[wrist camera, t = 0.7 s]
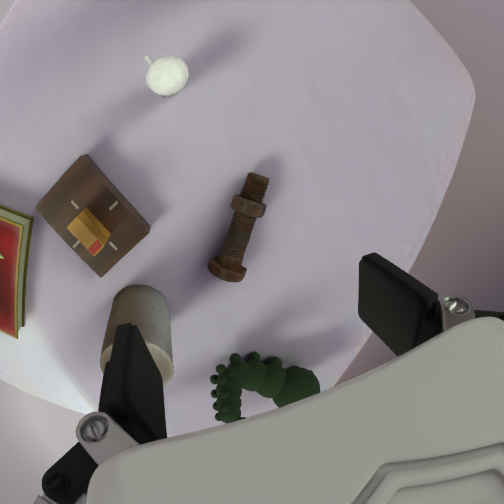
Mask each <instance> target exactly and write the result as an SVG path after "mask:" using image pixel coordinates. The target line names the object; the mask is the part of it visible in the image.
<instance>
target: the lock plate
mask: <svg viewBox="0 0 504 504" xmlns="http://www.w3.org/2000/svg"><path fill="white" fill-rule="evenodd" d="M86 207H87V208H88V209H89V211H90V212H91V213H92V214H93V215H94V216H95V217H96V218H97V219H98V220H99V222H100V223H101V224H102V225H103V226H104V227H105V228H106V229H107V230H108V231H109V232H110V233H111V235H110V236H109V238H108V240H107V242H106V244H105V246H104V247H103V248H102V249H101V250H100V251H99V252H98V253H97V254H96V255H95V256H93V255H92V254H91V253H90V252H89V251H88V250H87V248H86V247H85V246H84V245H83V244H82V243H81V242H80V241H79V240H78V239H77V238H76V237H75V236H74V235H73V234H72V233H71V232H70V231H69V229H68V228H67V227H68V226H69V224H70V223H71V222H72V221H73V220H74V219H75V218H76V217H77V216H78V215H79V214H80V213H81V212H82V211H83V210H84V209H85V208H86ZM36 210H37V211H38V212H39V213H40V214H41V215H42V217H43V218H44V219H45V220H46V221H47V222H48V223H49V224H50V226H51V227H52V228H53V229H54V230H55V231H56V232H57V233H58V234H59V235H60V237H61V238H62V239H63V240H64V241H65V242H66V243H67V244H68V245H69V246H70V247H71V248H72V249H73V250H74V251H75V252H76V253H77V254H78V255H79V256H80V258H81V259H82V260H83V261H84V262H85V263H86V264H87V265H88V266H89V267H91V268H92V269H93V270H94V271H95V272H96V273H97V274H98V275H99V276H100V277H103V276H104V275H105V274H106V273H107V272H108V271H109V270H110V269H111V268H112V267H113V266H114V265H115V264H116V263H117V262H118V261H119V260H120V259H121V258H122V257H123V256H124V255H125V254H127V253H128V252H129V251H130V250H131V249H132V248H133V247H134V246H135V245H136V244H137V243H138V242H140V241H141V240H142V239H143V238H144V237H145V236H146V235H147V234H148V233H149V231H150V225H149V224H148V223H147V222H146V220H145V219H144V218H143V217H142V216H141V215H140V214H139V213H138V212H137V211H136V209H135V208H134V207H133V206H132V205H131V204H130V203H129V202H128V201H127V199H126V198H125V197H124V196H123V195H122V194H121V193H120V192H119V190H118V189H117V188H116V187H115V186H114V185H113V184H112V182H111V181H110V180H109V179H108V178H107V177H106V176H105V174H104V173H103V172H102V171H101V170H100V169H99V167H98V166H97V165H96V164H95V163H94V162H93V160H92V159H91V158H90V157H89V156H88V154H86V155H82V156H80V157H79V158H78V159H77V160H76V161H75V163H74V164H73V165H72V166H71V167H70V168H69V169H68V170H67V171H66V172H65V173H64V175H63V176H62V177H61V178H60V179H59V180H58V181H57V183H56V184H55V185H54V186H53V187H52V188H51V190H50V191H49V192H48V193H47V194H46V196H45V197H44V198H43V199H42V201H41V202H40V203H39V204H38V206H37V207H36Z"/></svg>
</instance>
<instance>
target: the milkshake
mask: <svg viewBox="0 0 504 504" xmlns="http://www.w3.org/2000/svg"><path fill="white" fill-rule="evenodd" d="M144 59H145V61H146V62H147V63H148V64H149V65H150V67H149V69H148V71H147V75H146V79H147V84H148V86H149V87H150V89H151V90H152V91H154V92H155V93H157V94H159V95H161V96H162V97H163V98H171V97H173V96H174V95H176V94H178V93H179V91H180V90H181V89H182V88H183V87H184V86H185V84H186V82H187V80H188V75H189V72H188V67H187V65H186V64H185V63H184V62H183V61H182V60H181V59H179V58H177V57H162V58H159V59H158V60H156V61H155V62H154V63H153V62H152V61H151V59H150V58H149V57H148V56H147V55H145V56H144Z"/></svg>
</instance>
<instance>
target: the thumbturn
mask: <svg viewBox="0 0 504 504" xmlns="http://www.w3.org/2000/svg"><path fill="white" fill-rule="evenodd" d="M67 228H68V229H69V231H70V232H71V233H72V234H73V235H74V236H75V237H76V238H77V239H78V240H79V241H80V242H81V243H82V244H83V245H84V246H85V247H86V248H87V250H88V251H89V252H90V253H91V254H92V255H93V256H95V255H96V254H97V253H98V252H99V251H100V250H101V249H102V248H103V247H104V246H105V244H106V242H107V240H108V238H109V236H110V235H111V233H110V232H109V231H108V230H107V229H106V228H105V227H104V226H103V225H102V224H101V223H100V222H99V220H98V219H97V218H96V217H95V216H94V215H93V214H92V213H91V212H90V211H89V209H88V208H87V207H86V208H85V209H84V210H83V211H82V212H81V213H80V214H79V215H78V216H77V217H76V218H75V219H74V220H73V221H72V222H71V223H70V224H69V226H68V227H67Z"/></svg>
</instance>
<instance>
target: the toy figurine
mask: <svg viewBox="0 0 504 504" xmlns="http://www.w3.org/2000/svg"><path fill="white" fill-rule="evenodd" d="M229 359H230V362H231V364H230V365H229V366H228V367H227V368H226V366H224V365H222V364H220V365H218V366H217V367H216V371H217V372H218V373H219V375H212V376H211V377H210V381H211V382H212V383H213V384H218V385H217V387H216V390H212V392H211V396H212V397H213V398H217V397H218V398H217V400H216V402H215V403H214V404H213V408H214V410H216V411H218V413H216V415H215V419H216V420H217V421H222V422H224V423H231V422H235V421H238V420H242V419H245V417H242V418H241V417H240V416H241V411H240V407H241V399H240V396H241V394H242V388H243V389H245V390H248V391H257V392H258V393H259V394H260V395H262V396H264V397H266V398H273V401H274V403H275V404H276V405H277V406H278V407H279V408H280V407H283V406H286V405H288V404H291V403H294V402H297V401H300V400H302V399H305V398H308V397H310V396H313V395H315V394H318V393H320V385H319V381H318V379H317V377H316V376H315V375H314V373H313V371H311V370H307V369H304V368H300V367H298V366H292V367H291V368H288V369H286V370H285V369H284V368H282V367H281V364H282V361H281V359H280V358H278V357H272V358H271V359H270V361H269V362H268V364H266V365H265V364H264V363H262V362H260V355H259V354H258V353H256V352H254V353H251V354H250V356H249V359H250V360H247V361H244V362H242V361H241V357H240V355H239V354H237V353H235V354H232V355H231V356H230V358H229Z"/></svg>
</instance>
